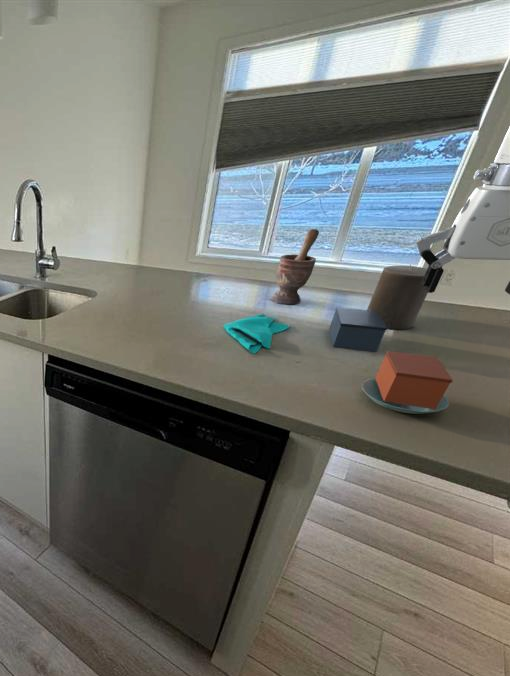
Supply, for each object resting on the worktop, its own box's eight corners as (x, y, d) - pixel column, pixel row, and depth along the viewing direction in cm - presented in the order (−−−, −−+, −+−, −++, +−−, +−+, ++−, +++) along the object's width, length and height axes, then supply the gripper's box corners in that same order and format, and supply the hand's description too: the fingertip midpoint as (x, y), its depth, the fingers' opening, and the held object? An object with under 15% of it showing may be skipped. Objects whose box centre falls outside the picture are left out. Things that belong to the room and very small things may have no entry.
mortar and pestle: (270, 292, 131) (287, 227, 121) (302, 294, 127) (323, 228, 117) (268, 303, 123) (286, 235, 113) (302, 306, 119) (324, 236, 109)
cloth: (243, 312, 119) (244, 305, 118) (297, 322, 110) (299, 314, 108) (203, 341, 104) (204, 333, 103) (262, 356, 95) (264, 347, 94)
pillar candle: (374, 329, 102) (398, 270, 95) (356, 315, 110) (377, 260, 103) (421, 330, 100) (450, 269, 92) (399, 316, 108) (424, 259, 100)
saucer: (406, 427, 70) (411, 416, 68) (342, 393, 80) (346, 383, 78) (461, 414, 71) (467, 403, 70) (391, 383, 81) (396, 373, 80)
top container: (422, 385, 76) (437, 356, 73) (436, 410, 69) (453, 380, 66) (374, 378, 79) (386, 350, 76) (383, 401, 73) (396, 372, 70)
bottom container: (368, 333, 100) (378, 311, 97) (376, 352, 92) (387, 328, 89) (328, 329, 104) (335, 307, 101) (332, 347, 96) (340, 323, 93)
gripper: (450, 182, 59) (403, 295, 67) (641, 174, 51) (560, 304, 59) (435, 177, 64) (393, 282, 73) (605, 168, 56) (536, 288, 65)
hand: (468, 292), depth 66 cm, fingers open, 9 cm apart
